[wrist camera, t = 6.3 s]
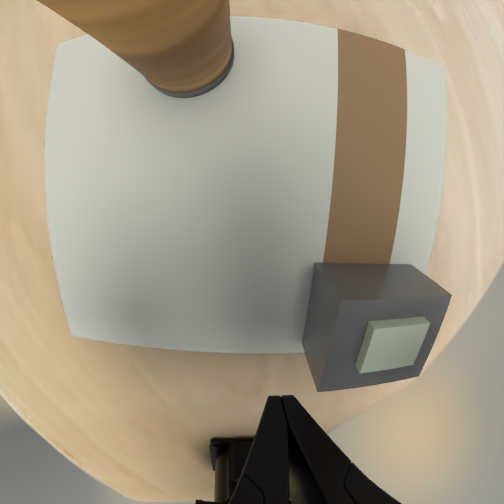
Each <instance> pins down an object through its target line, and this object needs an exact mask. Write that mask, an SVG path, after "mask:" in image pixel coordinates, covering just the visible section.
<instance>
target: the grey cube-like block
mask: <svg viewBox="0 0 504 504" xmlns="http://www.w3.org/2000/svg"><path fill="white" fill-rule="evenodd" d="M451 296H452V295H451V294H450V293H448V292H447V291H446V290H445V289H443V288H442V287H441V286H439V285H438V284H437V283H435V282H434V281H433V280H432V279H430V278H429V277H428V276H426V275H425V274H424V273H422V272H421V271H419V270H418V269H417V268H415V267H414V266H413V265H411V264H369V263H325V262H314V270H313V277H312V284H311V291H310V297H309V304H308V310H307V316H306V322H305V328H304V333H303V339H302V345H303V348H304V351H305V354H306V357H307V361H308V364H309V367H310V370H311V373H312V376H313V379H314V383H315V386H316V389H317V392H323V391H333V390H342V389H350V388H357V387H364V386H370V385H377V384H382V383H388V382H393V381H398V380H403V379H408V378H412V377H417V376H419V374H420V372H421V370H422V368H423V366H424V364H425V362H426V360H427V358H428V355H429V353H430V351H431V349H432V346H433V344H434V342H435V339H436V337H437V334H438V332H439V329H440V327H441V324H442V322H443V319H444V316H445V313H446V311H447V308H448V305H449V302H450V299H451Z"/></svg>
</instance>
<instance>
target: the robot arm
mask: <svg viewBox="0 0 504 504" xmlns="http://www.w3.org/2000/svg"><path fill="white" fill-rule="evenodd" d="M210 451H211V459H212V467H213V470H214V471H215V496H214V502H208V501H203V500H196V504H401V503H400V502H398V501H397V500H396V499H394V498H393V497H391V496H390V495H388V494H387V493H386V492H385V491H383V490H382V489H381V488H379V487H378V486H377V485H376V484H375V483H373V482H372V481H371V480H370V479H368V478H367V477H366V476H365V475H364V474H363V473H362V472H361V471H360V470H359V469H358V468H357V467H356V466H355V464H354V463H351V461H350V459H349V458H348V457H347V456H346V455H345V454H344V453H343V452H342V451H341V450H340V448H339V447H338V446H337V445H336V444H335V443H334V442H333V441H332V440H331V438H330V437H329V436H328V435H327V434H326V433H325V432H324V431H323V429H322V428H321V427H320V426H319V425H318V424H317V423H316V421H315V420H314V419H313V418H312V417H311V416H310V414H309V413H308V412H307V411H306V410H305V409H304V407H303V406H302V405H301V404H300V403H299V401H298V400H297V399H296V398H295V397H294V396H293V395H283V396H281V397H280V396H269V397H268V398H267V402H266V405H265V408H264V411H263V414H262V417H261V420H260V423H259V426H258V429H257V432H256V435H255V438H254V440H223V439H212V440H210Z"/></svg>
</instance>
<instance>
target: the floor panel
mask: <svg viewBox="0 0 504 504" xmlns="http://www.w3.org/2000/svg"><path fill="white" fill-rule="evenodd" d="M230 24H231V37H232V39H233V43H234V62H233V66H232V68H231V70H230V72H229V74H228V76H227V77H226V78H225V79H224V81H223V82H222V83H221V84H219V85H218V86H217V87H216V88H214V89H213V90H211V91H209V92H207V93H205V94H203V95H200V96H196V97H191V98H176V97H171V96H168V95H165V94H163V93H161V92H160V91H158V90H157V89H156V88H154V87H153V86H152V85H151V84H150V83H149V82H148V81H147V80H146V78H145V77H144V76H143V75H142V74H141V73H139V72H138V71H137V70H136V69H134V68H133V67H132V66H130V65H129V64H128V63H127V62H125V61H124V60H123V59H121V58H120V57H119V56H117V55H116V54H115V53H113V52H112V51H111V50H109V49H108V48H107V47H105V46H104V45H103V44H101V43H100V42H98V41H97V40H96V39H94V38H93V37H92V36H90V35H89V34H87V35H83V36H80V37H77V38H74V39H71V40H68V41H65V42H62V43H59V44H58V47H57V51H56V56H55V60H54V66H53V71H52V77H51V83H50V90H49V98H48V107H47V117H46V132H45V191H46V206H47V217H48V226H49V234H50V242H51V248H52V255H53V261H54V266H55V271H56V276H57V281H58V286H59V290H60V294H61V299H62V303H63V307H64V310H65V314H66V318H67V321H68V325H69V328H70V331H71V335H72V336H75V337H80V338H86V339H91V340H97V341H104V342H110V343H117V344H124V345H132V346H140V347H149V348H158V349H169V350H181V351H195V352H213V353H242V354H285V353H305V351H304V348H303V345H302V339H303V333H304V328H305V322H306V316H307V310H308V304H309V297H310V291H311V284H312V277H313V270H314V262H325V263H369V264H411V265H413V266H414V267H415V268H417V269H418V270H419V271H421V272H422V273H424V274H425V275H426V273H427V269H428V265H429V261H430V257H431V253H432V248H433V244H434V239H435V234H436V229H437V223H438V218H439V211H440V205H441V198H442V190H443V182H444V172H445V160H446V143H447V93H446V77H445V67H444V66H442V65H440V64H438V63H436V62H434V61H431V60H429V59H427V58H425V57H422V56H420V55H418V54H415V53H413V52H410V51H408V50H405V49H402V48H400V47H397V46H394V45H392V44H389V43H386V42H383V41H380V40H377V39H373V38H370V37H367V36H363V35H360V34H356V33H352V32H348V31H344V30H340V29H336V28H332V27H327V26H322V25H317V24H311V23H305V22H299V21H292V20H284V19H275V18H265V17H250V16H230Z"/></svg>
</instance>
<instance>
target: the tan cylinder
mask: <svg viewBox="0 0 504 504" xmlns="http://www.w3.org/2000/svg"><path fill="white" fill-rule="evenodd" d="M37 1H39V2H40V3H42V4H43V5H45V6H47V7H48V8H50V9H51V10H53V11H55V12H56V13H58V14H59V15H61V16H62V17H64V18H65V19H67V20H68V21H70V22H71V23H73V24H74V25H76V26H77V27H79V28H80V29H82V30H83V31H84V32H86V33H87V34H89V35H90V36H92V37H93V38H94V39H96V40H97V41H98V42H100V43H101V44H103V45H104V46H105V47H107V48H108V49H109V50H111V51H112V52H113V53H115V54H116V55H117V56H119V57H120V58H121V59H123V60H124V61H125V62H127V63H128V64H129V65H130V66H132V67H133V68H134V69H136V70H137V71H138V72H139V73H141V74H142V75H143V76H144V77H145V78H146V80H147V81H148V82H149V83H150V84H151V85H152V86H153V87H154V88H156V89H157V90H158V91H160V92H161V93H163V94H165V95H168V96H171V97H176V98H191V97H196V96H200V95H203V94H205V93H207V92H209V91H211V90H213V89H214V88H216V87H217V86H218V85H219V84H221V83H222V82H223V81H224V79H225V78H226V77H227V76H228V74H229V72H230V70H231V68H232V66H233V62H234V43H233V39H232V37H231V24H230V6H229V0H37Z"/></svg>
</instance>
